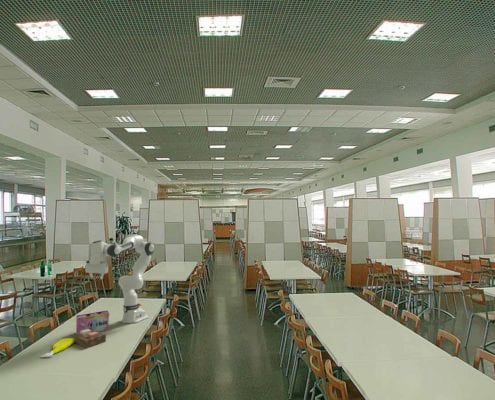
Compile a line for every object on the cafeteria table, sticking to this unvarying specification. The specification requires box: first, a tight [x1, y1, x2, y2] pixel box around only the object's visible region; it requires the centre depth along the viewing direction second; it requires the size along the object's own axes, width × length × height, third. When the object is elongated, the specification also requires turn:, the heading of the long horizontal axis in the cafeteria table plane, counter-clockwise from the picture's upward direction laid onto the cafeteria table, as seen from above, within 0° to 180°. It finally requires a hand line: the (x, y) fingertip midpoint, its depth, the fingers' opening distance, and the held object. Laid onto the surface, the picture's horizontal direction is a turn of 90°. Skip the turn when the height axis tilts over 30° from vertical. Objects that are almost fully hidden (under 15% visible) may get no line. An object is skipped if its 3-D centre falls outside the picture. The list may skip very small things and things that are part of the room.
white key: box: [80, 329, 91, 335], centre depth 227 cm, size 5×5×4 cm
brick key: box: [87, 331, 98, 338], centre depth 221 cm, size 5×5×4 cm
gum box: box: [75, 310, 110, 334], centre depth 246 cm, size 24×8×14 cm, turn 124°
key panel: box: [71, 329, 107, 349], centre depth 224 cm, size 14×20×5 cm
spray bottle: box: [39, 337, 75, 358], centre depth 211 cm, size 3×11×24 cm
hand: (96, 278), depth 242 cm, fingers open, 8 cm apart
